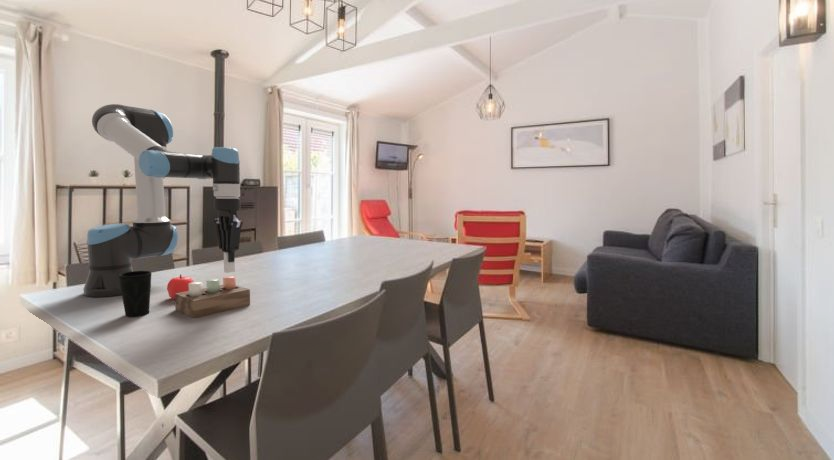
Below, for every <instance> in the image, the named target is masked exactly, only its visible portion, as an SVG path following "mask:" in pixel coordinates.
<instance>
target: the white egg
mask: <svg viewBox="0 0 834 460" xmlns="http://www.w3.org/2000/svg"><path fill="white" fill-rule="evenodd" d="M188 286H189V297H191V298H193V297H198V296H203V282H202V281H194V282H192V283H189V284H188Z"/></svg>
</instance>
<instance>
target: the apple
mask: <svg viewBox="0 0 834 460" xmlns="http://www.w3.org/2000/svg"><path fill="white" fill-rule="evenodd" d="M192 282H195V281H194V280H193V279H192V278H191V276H182V274H179V277H178V276H177V277H172V278H171V279H170V280H169V281H168V283H167V287H166V290H167V293H168V296H169V298H171V299H172V300H175V294H176V293H181V292H186V291H189V286H188V284H189V283H192Z"/></svg>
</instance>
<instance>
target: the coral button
mask: <svg viewBox="0 0 834 460" xmlns="http://www.w3.org/2000/svg"><path fill="white" fill-rule="evenodd" d="M236 280H237V279H236V276H235V275H234V276H233V275H229V276H224V277H223V278H222V282H223V283H222V285H223V290H226V291H227V290H232V289H236V285H237V281H236Z"/></svg>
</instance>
